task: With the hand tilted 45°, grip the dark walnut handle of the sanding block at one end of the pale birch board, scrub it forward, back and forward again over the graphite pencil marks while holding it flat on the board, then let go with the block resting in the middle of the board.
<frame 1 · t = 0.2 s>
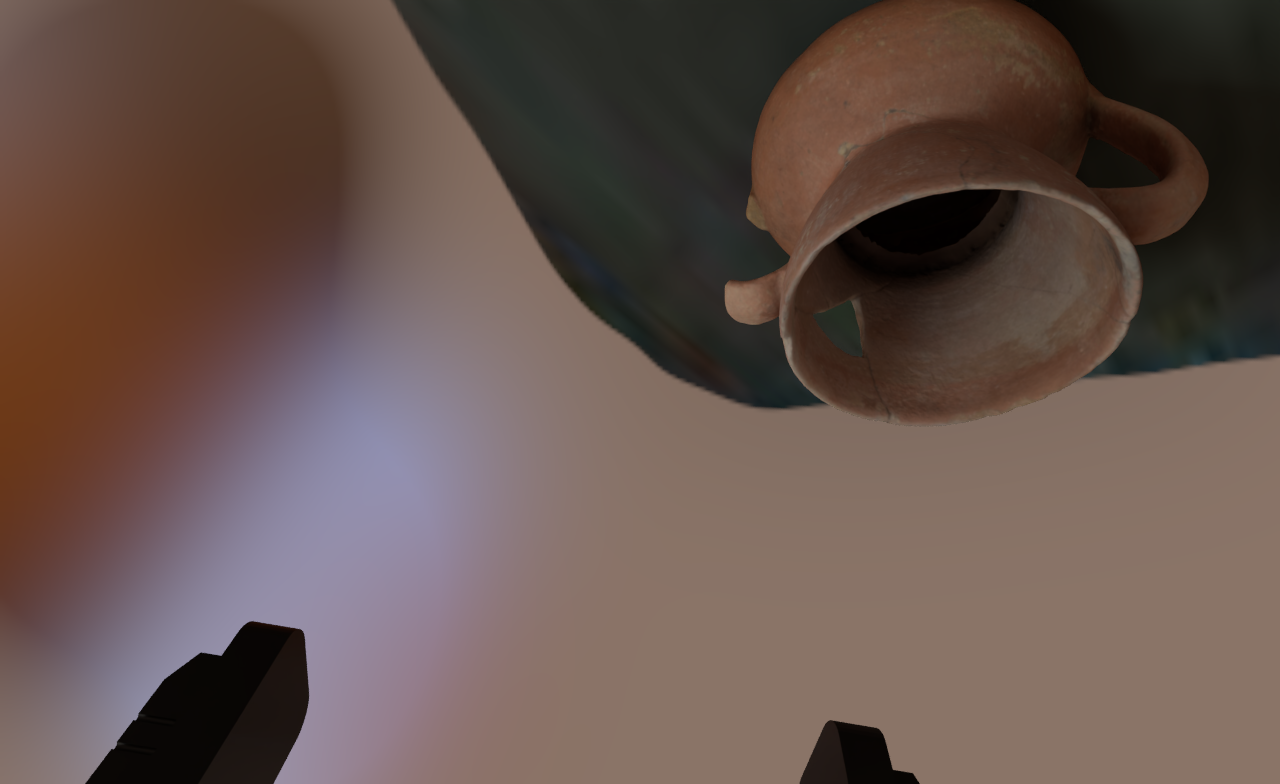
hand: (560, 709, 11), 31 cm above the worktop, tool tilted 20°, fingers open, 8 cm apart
ceramic jug: (917, 119, 36), on the worktop
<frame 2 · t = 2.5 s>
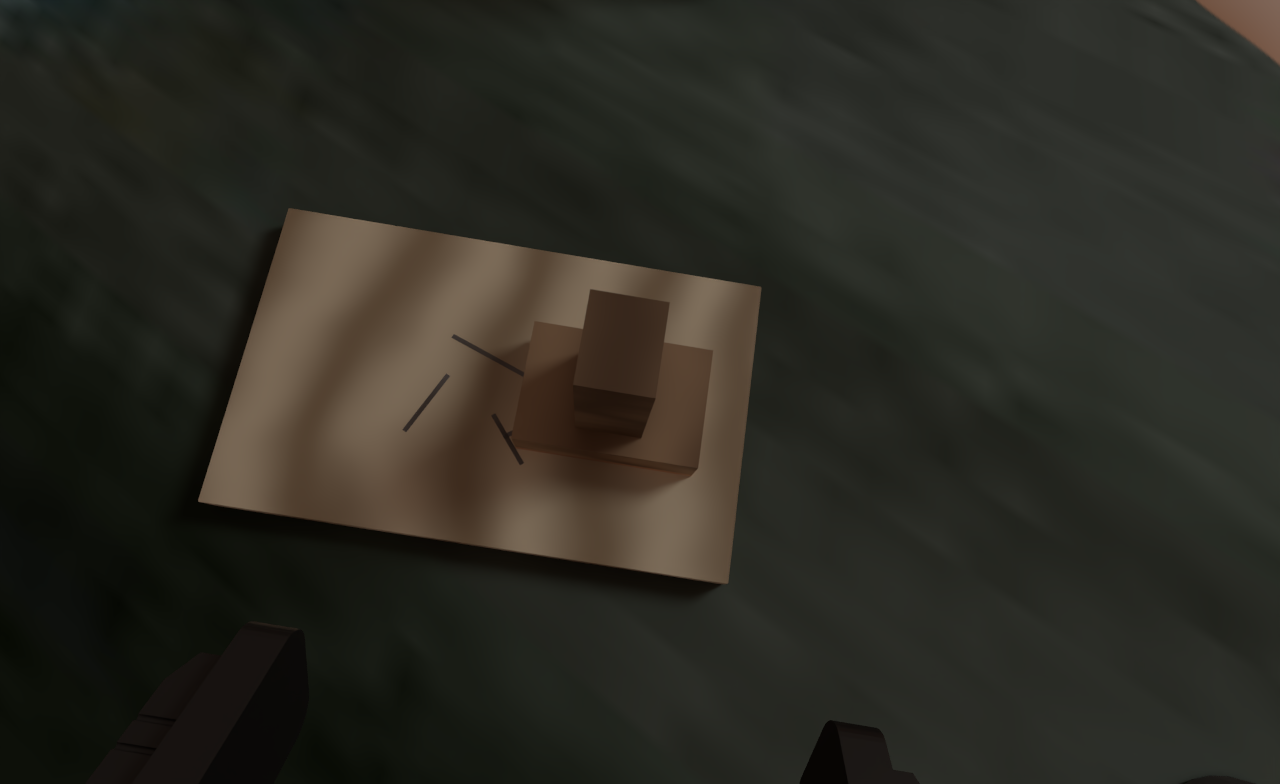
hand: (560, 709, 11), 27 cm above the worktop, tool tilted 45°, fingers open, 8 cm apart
birch board: (501, 394, 40), on the worktop
sanding block: (612, 405, 39), point 2 cm above the worktop, touching birch board
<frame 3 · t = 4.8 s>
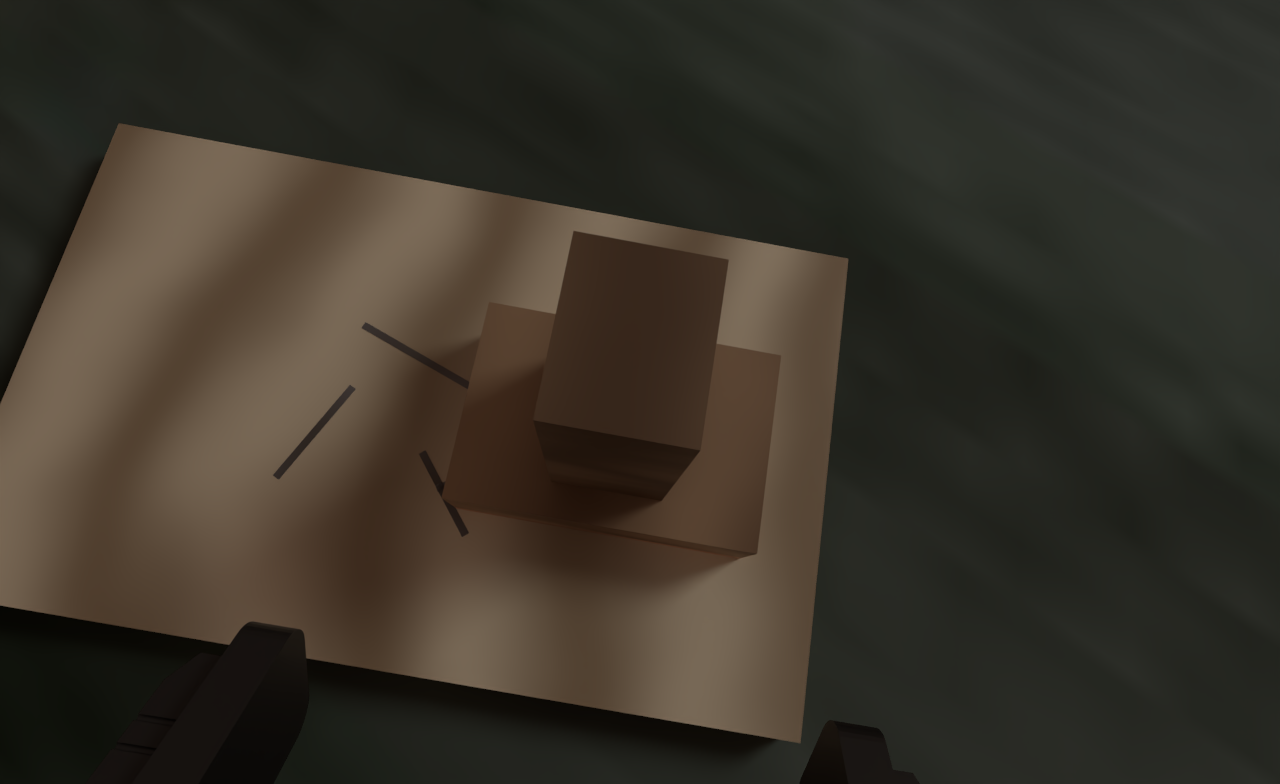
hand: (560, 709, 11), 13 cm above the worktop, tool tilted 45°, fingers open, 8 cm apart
birch board: (440, 419, 25), on the worktop
sanding block: (615, 441, 24), point 2 cm above the worktop, touching birch board
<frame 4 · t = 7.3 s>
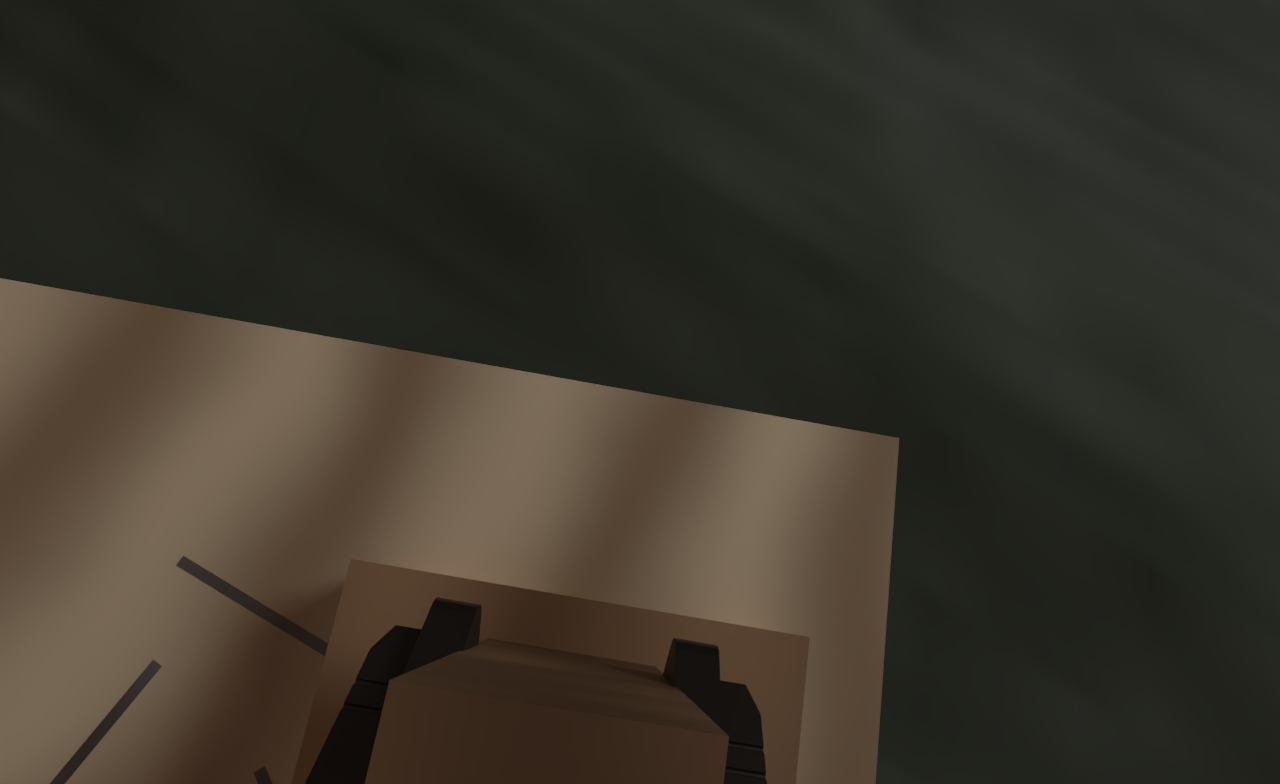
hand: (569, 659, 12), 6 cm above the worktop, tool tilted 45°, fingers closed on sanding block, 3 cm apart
birch board: (303, 686, 17), on the worktop
sanding block: (556, 741, 16), point 2 cm above the worktop, touching birch board, gripper
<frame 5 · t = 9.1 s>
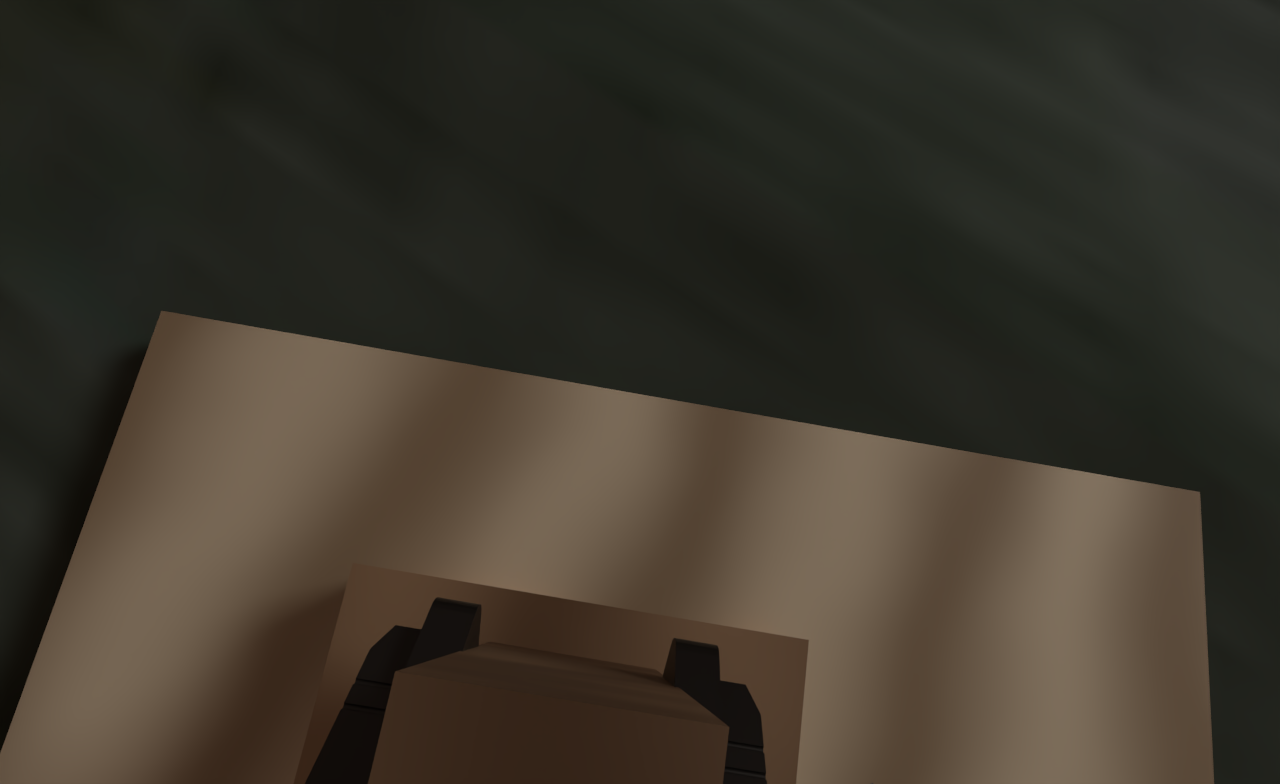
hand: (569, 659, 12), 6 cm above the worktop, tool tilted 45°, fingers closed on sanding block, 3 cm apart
birch board: (633, 741, 18), on the worktop
sanding block: (557, 746, 16), point 2 cm above the worktop, touching gripper
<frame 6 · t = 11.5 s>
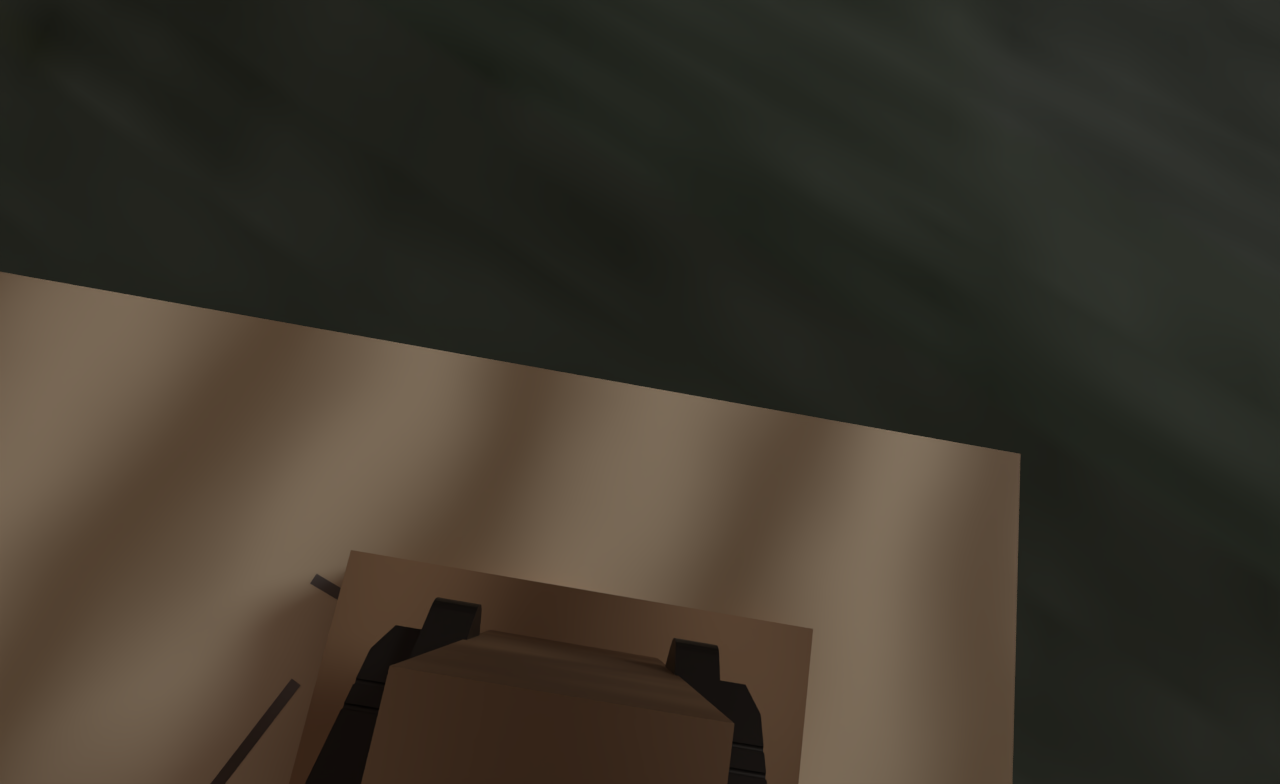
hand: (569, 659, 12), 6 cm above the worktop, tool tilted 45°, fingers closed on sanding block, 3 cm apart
birch board: (430, 704, 17), on the worktop
sanding block: (558, 734, 16), point 2 cm above the worktop, touching gripper
when the fingers open (6 cm above the worktop, at t = 14.1 s): sanding block stays where it is, resting on birch board.
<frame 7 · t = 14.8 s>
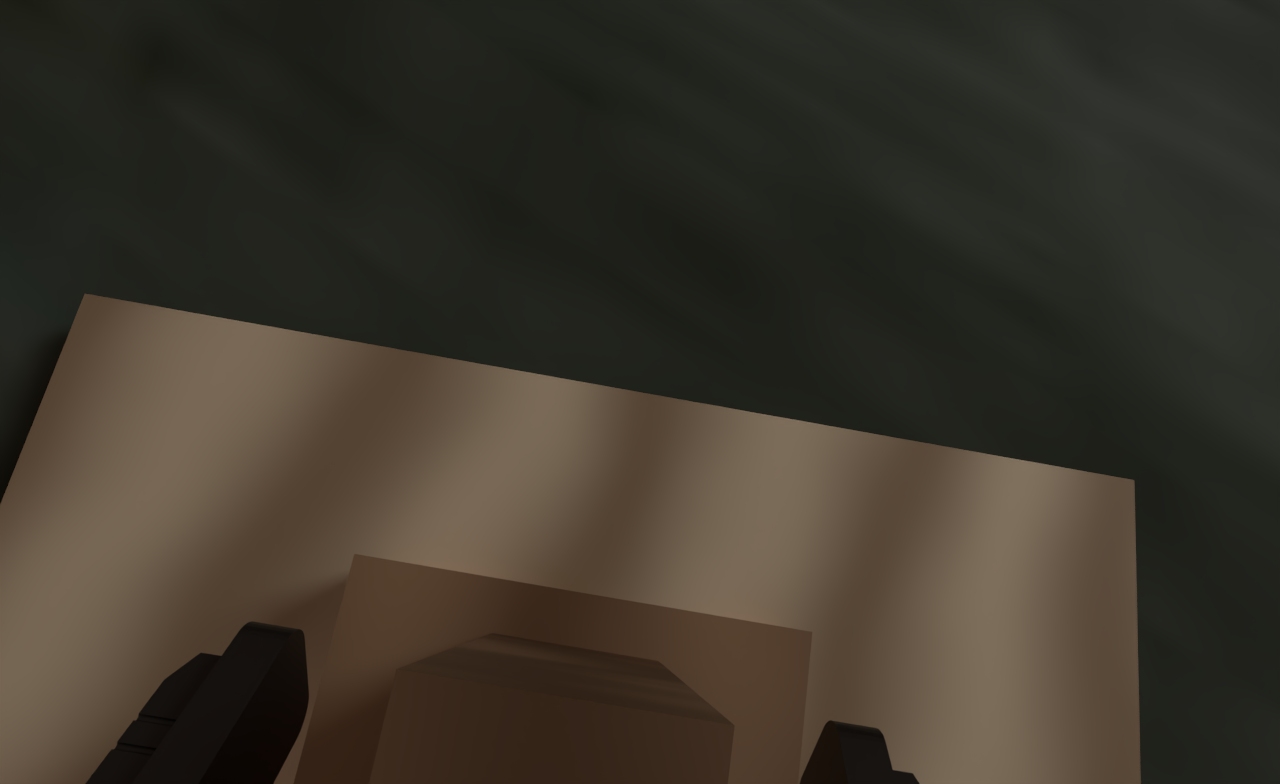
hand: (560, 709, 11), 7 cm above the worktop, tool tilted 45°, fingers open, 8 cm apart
birch board: (558, 729, 17), on the worktop
sanding block: (559, 736, 16), point 2 cm above the worktop, touching birch board
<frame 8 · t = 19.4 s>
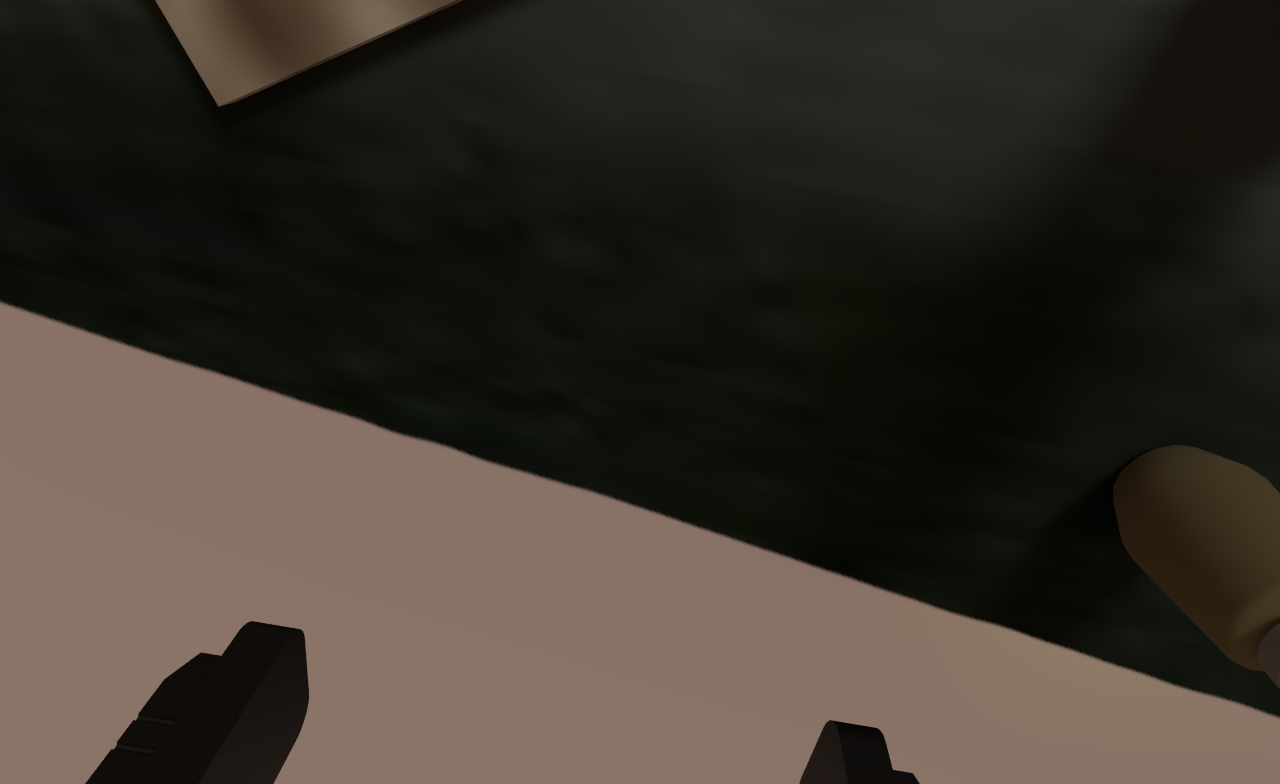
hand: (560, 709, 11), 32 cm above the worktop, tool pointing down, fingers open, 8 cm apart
squeeze bottle: (1159, 480, 46), on the worktop
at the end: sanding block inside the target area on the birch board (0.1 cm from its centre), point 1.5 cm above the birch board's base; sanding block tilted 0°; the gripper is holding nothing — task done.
